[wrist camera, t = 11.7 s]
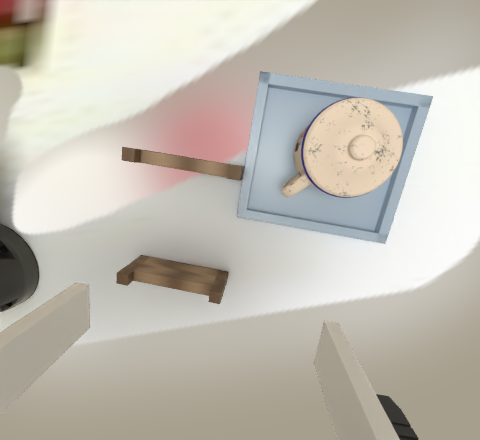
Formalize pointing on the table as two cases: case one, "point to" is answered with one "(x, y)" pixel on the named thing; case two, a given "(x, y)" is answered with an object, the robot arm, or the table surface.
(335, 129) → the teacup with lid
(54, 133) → the table surface
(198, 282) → the walnut rack
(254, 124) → the tray
